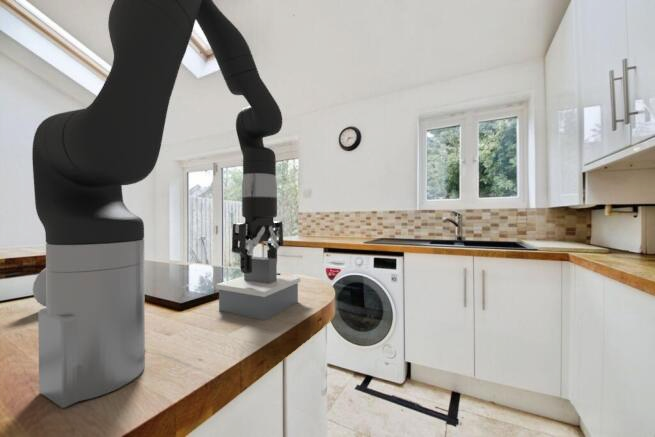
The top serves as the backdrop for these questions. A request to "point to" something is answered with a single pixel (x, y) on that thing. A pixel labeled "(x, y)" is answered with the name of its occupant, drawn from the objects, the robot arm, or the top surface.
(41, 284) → the donut
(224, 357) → the top surface
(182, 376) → the top surface
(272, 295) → the box
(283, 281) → the lid
